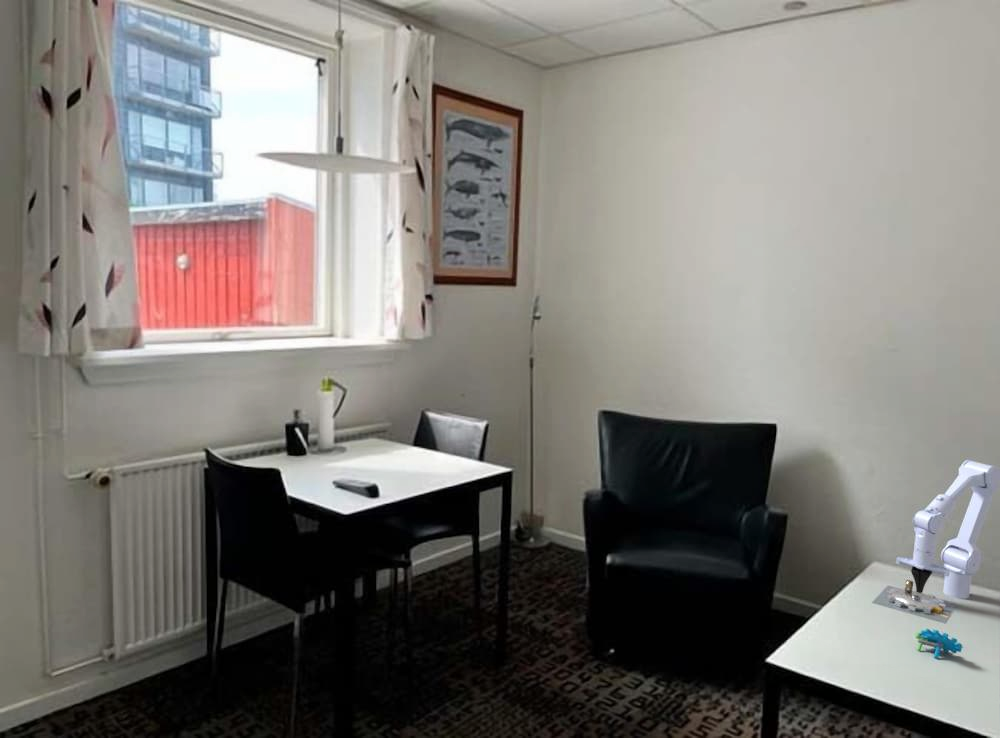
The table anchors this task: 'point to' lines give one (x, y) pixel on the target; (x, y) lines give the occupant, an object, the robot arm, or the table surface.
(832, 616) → the table surface
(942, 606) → the sprocket
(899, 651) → the table surface
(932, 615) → the base plate
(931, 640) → the blue toy dinosaur
